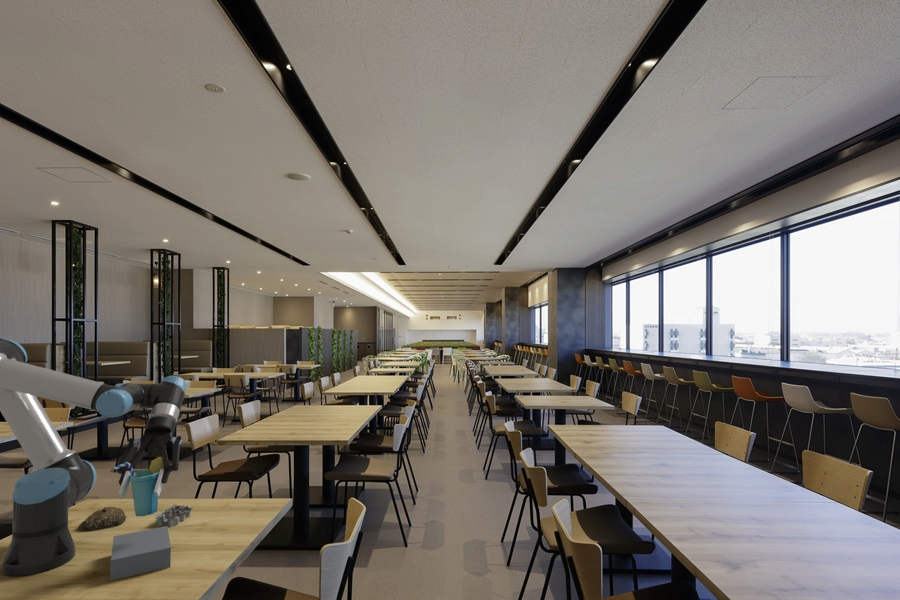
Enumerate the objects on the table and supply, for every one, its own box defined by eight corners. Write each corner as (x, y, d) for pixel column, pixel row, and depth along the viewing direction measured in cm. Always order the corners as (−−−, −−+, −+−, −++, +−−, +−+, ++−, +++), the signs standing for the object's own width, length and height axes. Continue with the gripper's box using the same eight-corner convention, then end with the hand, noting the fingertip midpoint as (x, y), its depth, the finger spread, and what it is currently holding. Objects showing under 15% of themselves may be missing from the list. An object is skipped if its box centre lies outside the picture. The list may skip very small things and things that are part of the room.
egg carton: (174, 528, 157) (174, 515, 157) (152, 527, 158) (152, 514, 158) (195, 515, 167) (195, 502, 168) (173, 514, 168) (174, 502, 168)
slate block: (110, 581, 124) (110, 560, 124) (113, 554, 138) (113, 536, 138) (170, 567, 131) (170, 547, 131) (167, 543, 145) (167, 525, 145)
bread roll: (122, 527, 158) (122, 511, 158) (74, 534, 153) (75, 517, 153) (130, 513, 170) (130, 498, 170) (86, 519, 165) (87, 504, 165)
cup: (122, 526, 127) (121, 467, 128) (107, 521, 131) (105, 463, 132) (176, 506, 139) (174, 452, 140) (160, 502, 143) (159, 449, 144)
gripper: (201, 428, 154) (184, 499, 137) (127, 430, 149) (99, 504, 132) (197, 413, 149) (178, 485, 132) (120, 416, 144) (90, 490, 128)
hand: (139, 495), depth 132 cm, fingers closed on cup, 8 cm apart
